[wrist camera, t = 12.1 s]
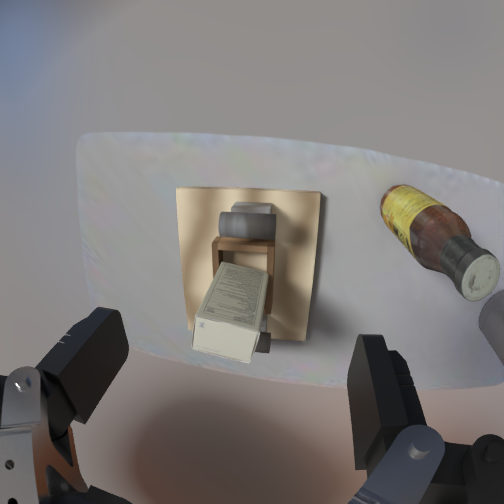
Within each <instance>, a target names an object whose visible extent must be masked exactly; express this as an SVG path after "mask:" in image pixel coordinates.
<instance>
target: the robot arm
mask: <svg viewBox="0 0 504 504" xmlns="http://www.w3.org/2000/svg"><path fill="white" fill-rule="evenodd" d="M479 327H480V330H481V331H482V332H483V334H484V335H485V337H486V338H487V340H488V341H489V343H490V345H491V346H492V348H493V349H494V351H495V352H496V354H497V355H498V357H499V359H500V360H501V362H502V363H503V365H504V290H502V291H500V292H498V293H497V294H495V295H494V296H493V297H492V298H491V299H490V300H489V301H488V302H487V303H486V305H485V306H484V308H483V310H482V312H481V315H480V318H479ZM128 352H129V344H128V340H127V337H126V333H125V329H124V325H123V321H122V317H121V314H120V312H119V311H118V310H115V309H109V308H103V307H97V308H96V309H95V310H94V311H93V312H92V313H91V314H90V315H89V316H88V317H87V318H85V319H83V320H81V321H80V322H78V323H76V324H75V325H73V327H72V328H71V329H70V330H69V331H68V332H67V333H66V336H63V337H62V338H61V340H60V342H59V343H57V344H56V345H55V346H54V347H53V348H52V349H51V350H50V351H49V353H48V354H47V355H46V356H45V357H44V358H43V359H42V360H41V362H40V363H39V364H38V365H37V366H36V367H35V368H33V367H29V366H25V367H20V368H18V369H16V370H14V371H13V372H12V373H10V375H9V376H2V375H0V504H132V503H131V502H129V501H127V500H126V499H124V498H121V497H118V496H116V495H113V494H111V493H108V492H106V491H104V490H101V489H99V488H96V487H94V486H92V485H91V486H90V488H89V489H88V487H87V485H86V483H85V481H84V479H83V478H82V475H81V473H80V469H79V464H78V460H77V455H76V449H75V444H74V437H73V431H72V428H71V426H70V423H71V422H72V421H73V420H75V421H78V422H80V423H83V424H86V422H87V421H88V419H89V417H90V416H91V414H92V413H93V411H94V409H95V408H96V406H97V405H98V403H99V401H100V400H101V398H102V397H103V395H104V394H105V392H106V390H107V389H108V387H109V386H110V384H111V382H112V381H113V379H114V378H115V376H116V375H117V373H118V372H119V370H120V369H121V367H122V365H123V364H124V363H125V361H126V359H127V356H128ZM347 388H348V396H349V405H350V413H351V422H352V423H351V424H352V432H353V433H352V434H353V445H354V457H355V470H366V469H367V480H366V482H365V483H364V484H363V486H362V487H361V488H360V489H359V490H358V492H357V493H356V494H355V495H354V496H353V498H352V499H351V500H350V501H349V502H348V504H504V439H502V438H501V437H499V436H497V435H493V434H487V435H483V436H481V437H480V438H478V439H477V440H476V441H475V443H474V444H473V445H464V444H456V443H449V442H445V441H444V440H443V438H442V437H441V435H440V434H439V433H438V432H437V431H436V430H435V429H433V428H431V427H429V426H427V424H426V420H425V417H424V414H423V410H422V407H421V404H420V401H419V398H418V395H417V391H416V388H415V386H414V382H413V379H412V377H411V376H410V371H409V368H408V365H407V362H406V360H405V359H404V358H403V357H402V356H401V355H400V354H399V353H398V352H397V351H396V350H391V351H388V349H387V346H386V343H385V340H384V337H383V335H370V334H359V335H358V338H357V341H356V345H355V348H354V352H353V356H352V359H351V363H350V367H349V370H348V378H347Z"/></svg>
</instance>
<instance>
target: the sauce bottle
mask: <svg viewBox="0 0 504 504" xmlns="http://www.w3.org/2000/svg"><path fill="white" fill-rule="evenodd" d="M380 210H381V216H382V218H383V219H384V222H385V224H386V225H387V227H388V228H389V229H390V230H391V231H392V232H393V233H394V234H395V236H396V237H397V238H398V239H399V240H400V241H401V243H402V244H403V245H404V246H405V247H406V248H407V250H408V251H409V252H410V253H411V254H412V255H413V257H414V258H415V259H416V260H417V261H418V262H419V263H420V264H421V265H422V266H423V267H424V268H427V269H430V270H434V271H437V272H441V273H444V274H446V275H447V276H448V277H449V278H450V279H451V280H452V281H453V282H454V283H455V287H456V289H457V290H458V292H459V293H460V294H461V295H462V296H463V297H464V298H465V299H467V300H469V301H477V300H481V299H482V298H484V297H486V296H487V295H488V294H490V293H491V291H492V290H493V289H494V287H495V286H496V284H497V282H498V278H499V275H500V265H499V262H498V260H497V258H496V257H495V256H494V255H493V254H492V253H490V252H489V251H488V250H486V249H483V248H480V247H479V246H478V245H477V244H476V243H475V242H474V241H473V240H472V239H471V234H470V231H469V228H468V226H467V224H466V223H465V221H464V220H463V219H462V218H461V217H460V216H459V215H458V214H456V213H454V212H452V211H451V210H450V209H449V208H448V207H446V206H445V205H443V204H442V203H440V202H438V201H437V200H435V199H433V198H432V197H430V196H428V195H427V194H425V193H423V192H421V191H420V190H418V189H416V188H414V187H412V186H408V185H397V186H393V187H391V188H390V189H389V190H388V191H387V192H386V193H385V194H384V196H383V198H382V200H381V205H380Z"/></svg>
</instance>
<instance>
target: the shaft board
mask: <svg viewBox="0 0 504 504" xmlns="http://www.w3.org/2000/svg"><path fill="white" fill-rule="evenodd" d="M320 195H321V194H320V192H316V191H300V190H282V189H261V188H231V187H178V188H176V199H177V216H178V230H179V243H180V255H181V266H182V276H183V286H184V296H185V304H186V313H187V321H188V329H189V330H193V327H194V320H195V315H196V313H197V311H198V309H199V307H200V305H201V303H202V301H203V299H204V297H205V295H206V293H207V291H208V289H209V287H210V285H211V283H212V281H213V279H214V277H215V274H216V272H217V270H218V268H219V266H220V264H221V262H226V263H231V264H235V265H239V266H243V267H247V268H251V269H254V270H258V271H262V272H265V273H268V274H269V277H268V284H267V290H266V297H265V304H264V311H263V317H262V324H261V331H260V336H259V339H258V342H257V346H256V349H255V352H260V353H269V351H270V343H271V339H281V340H295V341H305V338H306V331H307V324H308V316H309V308H310V300H311V292H312V283H313V274H314V264H315V255H316V244H317V233H318V221H319V209H320Z"/></svg>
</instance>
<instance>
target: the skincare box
mask: <svg viewBox="0 0 504 504" xmlns="http://www.w3.org/2000/svg"><path fill="white" fill-rule="evenodd" d="M268 277H269V274H268V273H265V272H262V271H258V270H254V269H251V268H247V267H243V266H239V265H235V264H231V263H226V262H221V264H220V266H219V268H218V270H217V272H216V274H215V277H214V279H213V281H212V283H211V285H210V287H209V289H208V291H207V293H206V295H205V297H204V299H203V301H202V303H201V305H200V307H199V309H198V311H197V313H196V315H195V320H194V327H193V335H192V346H191V347H192V349H195V350H198V351H201V352H205V353H208V354H212V355H216V356H220V357H224V358H228V359H232V360H237V361H241V362H245V363H251V360H252V357H253V354H254V352H255V349H256V346H257V342H258V339H259V336H260V331H261V324H262V317H263V311H264V304H265V297H266V290H267V284H268Z"/></svg>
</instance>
